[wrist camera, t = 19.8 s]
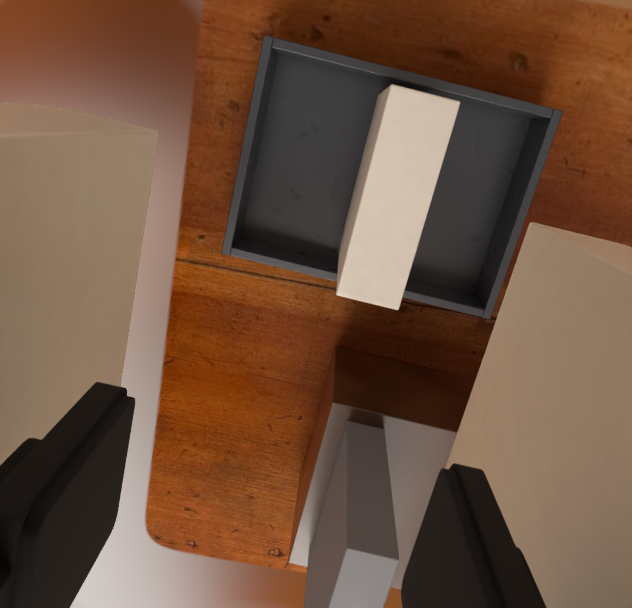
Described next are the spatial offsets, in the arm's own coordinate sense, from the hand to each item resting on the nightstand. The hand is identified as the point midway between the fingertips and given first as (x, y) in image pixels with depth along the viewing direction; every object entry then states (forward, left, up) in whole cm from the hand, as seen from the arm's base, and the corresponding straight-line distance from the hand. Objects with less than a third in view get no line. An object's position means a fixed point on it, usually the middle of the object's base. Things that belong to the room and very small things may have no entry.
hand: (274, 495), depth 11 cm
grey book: (+5, -16, -25) cm, 30 cm away
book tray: (+3, +4, -35) cm, 35 cm away
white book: (+3, +4, -34) cm, 34 cm away
